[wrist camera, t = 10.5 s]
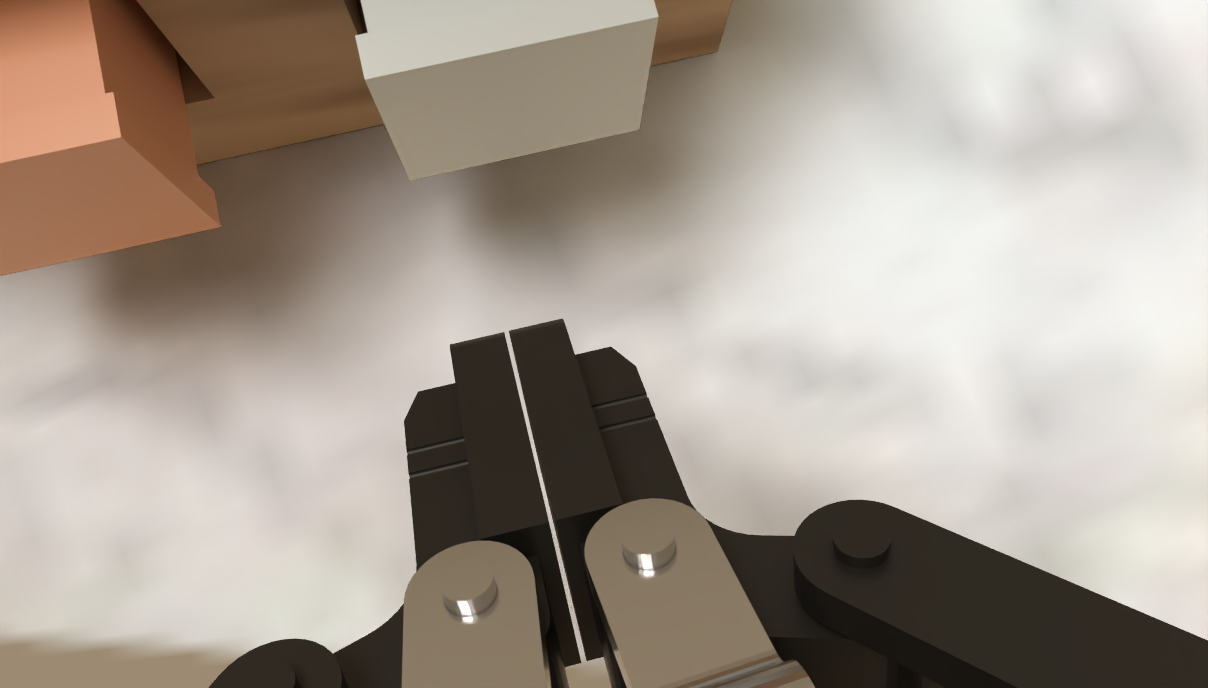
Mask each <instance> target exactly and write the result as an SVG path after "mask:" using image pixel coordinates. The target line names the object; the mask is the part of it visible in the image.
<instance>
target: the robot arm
mask: <svg viewBox="0 0 1208 688" xmlns="http://www.w3.org/2000/svg"><path fill="white" fill-rule="evenodd" d="M509 333H510V338H511V342H512V347H513V351H514V356H515V360H516V364H517V369H518V373H519V378H520V382H521V386H522V391H523V395H524V400H525V404H526V408H527V413H528V417H529V422H530V426H531V430H532V435H533V439H534V443H535V448H536V452H537V456H538V460H539V465H540V469H541V473H542V477H543V481H544V485H545V490H546V494H547V498H548V502H549V506H550V510H551V514H552V519H553V523H554V527H555V531H556V535H557V539H558V544H559V548H560V552H561V556H562V560H563V564H564V568H565V573H566V577H567V581H568V585H569V589H570V593H571V598H572V602H573V606H574V610H575V614H576V618H577V622H578V627H579V631H580V635H581V639H582V643H583V647H584V652H585V656H586V660H587V661H589V660H593V659H596V658H600V657H604V659H605V663H606V667H607V671H608V675H609V679H610V683H611V686H612V688H1208V640H1205V639H1203V638H1201V637H1198V636H1196V635H1193V634H1191V633H1189V632H1186V631H1184V630H1182V629H1179V628H1177V627H1175V626H1172V625H1170V624H1168V623H1165V622H1163V621H1161V620H1158V619H1156V618H1154V617H1151V616H1149V615H1146V614H1144V613H1142V612H1139V611H1137V610H1135V609H1132V608H1130V607H1128V606H1125V605H1123V604H1121V603H1118V602H1116V601H1114V600H1111V599H1109V598H1107V597H1104V596H1102V595H1099V594H1097V593H1095V592H1092V591H1090V590H1088V589H1085V588H1083V587H1081V586H1078V585H1076V584H1074V583H1071V582H1069V581H1067V580H1064V579H1062V578H1060V577H1057V576H1055V575H1052V574H1050V573H1048V572H1045V571H1043V570H1041V569H1038V568H1036V567H1034V566H1031V565H1029V564H1027V563H1024V562H1022V561H1020V560H1017V559H1015V558H1013V557H1010V556H1008V555H1005V554H1003V553H1001V552H998V551H996V550H994V549H991V548H989V547H987V546H984V545H982V544H980V543H977V542H975V541H973V540H970V539H968V538H966V537H963V536H961V535H959V534H956V533H954V532H951V531H949V530H947V529H944V528H942V527H940V526H937V525H935V524H933V523H930V522H928V521H926V520H923V519H921V518H919V517H916V516H914V515H912V514H909V513H907V512H904V511H902V510H900V509H897V508H895V507H892V506H890V505H887V504H884V503H880V502H875V501H868V500H847V501H840V502H836V503H832V504H829V505H826V506H824V507H822V508H820V509H818V510H816V511H815V512H813V513H812V514H810V515H809V516H808V517H807V518H806V519H805V520H804V521H803V522H802V523H801V525H800V526H799V528H798V529H797V531H796V534H795V536H760V535H747V534H742V533H736V532H733V531H730V530H726V529H724V528H721V527H719V526H717V525H715V524H713V523H712V522H710V521H708V520H707V519H705V518H704V517H703V516H702V515H701V514H700V513H699V512H697V510H696V509H695V508H694V507H693V505H692V504H691V502H690V500H689V498H688V496H687V494H686V491H685V489H684V486H683V484H682V481H681V479H680V476H679V474H678V471H677V469H676V466H675V464H674V461H673V459H672V456H671V454H670V451H669V449H668V446H667V444H666V441H665V438H664V436H663V433H662V431H661V428H660V426H659V423H658V421H657V420H656V418H655V413H654V411H653V408H652V406H651V403H650V401H649V398H647V394H646V391H645V388H644V386H643V383H642V381H641V378H640V376H639V373H638V371H637V368H636V366H635V365H634V364H632V363H631V362H630V361H628V360H627V359H626V358H625V357H623V356H622V355H621V354H620V353H618V352H617V351H616V350H615V349H613V348H612V347H607V348H603V349H599V350H594V351H590V352H586V353H581V354H577V355H575V354H574V351H573V348H572V344H571V341H570V338H569V335H568V332H567V329H566V326H565V323H564V320H563V319H558V320H554V321H550V322H545V323H541V324H537V325H532V326H528V327H524V328H519V329H515V330H511V331H509ZM450 351H451V357H452V364H453V370H454V376H455V383H454V384H449V385H445V386H441V387H436V388H432V389H428V390H424V391H419V392H418V393H417V395H416V397H415V399H414V401H413V403H412V405H411V408H410V410H409V412H408V414H407V416H406V418H405V420H404V426H405V437H406V449H407V453H408V455H407V460H408V471H409V476H410V479H409V483H410V494H411V506H412V517H413V528H414V540H415V551H416V563H417V571H416V573H415V574H414V576H413V577H412V579H411V581H410V583H409V584H408V587H407V590H406V593H405V598H404V604H403V605H402V606H401V607H400V609H399V610H398V611H397V612H396V613H395V614H394V615H393V616H392V617H391V618H390V619H389V620H388V621H387V622H386V623H384V624H383V625H382V626H380V627H379V628H378V629H376V630H375V631H373V632H371V633H370V634H368V635H366V636H365V637H363V638H361V639H359V640H357V641H355V642H354V643H352V644H350V645H348V646H346V647H344V648H343V649H341V650H339V651H337V652H335V653H333V654H332V653H331V652H330V651H329V650H328V649H327V648H325V647H324V646H322V645H320V644H318V643H316V642H313V641H309V640H305V639H284V640H279V641H274V642H270V643H267V644H265V645H262V646H259V647H257V648H255V649H253V650H251V651H249V652H247V653H246V654H244V655H243V656H241V657H239V658H238V659H237V660H235V661H234V662H233V663H232V664H230V665H229V666H228V667H227V668H226V669H225V670H224V671H223V672H222V673H221V674H220V675H219V676H218V677H217V679H216V680H215V681H214V682H213V683H212V685H210V687H209V688H569V685H568V680H567V676H566V671H565V667H567V666H571V665H575V664H579V663H581V660H580V655H579V651H578V647H577V642H576V638H575V634H574V629H573V625H572V621H571V616H570V612H569V608H568V603H567V599H566V594H565V590H564V586H563V581H562V577H561V573H560V568H559V564H558V560H557V555H556V551H555V547H554V542H553V538H552V534H551V529H550V525H549V521H548V516H547V512H546V508H545V504H544V499H543V495H542V491H541V487H540V482H539V478H538V474H537V470H536V465H535V461H534V457H533V453H532V448H531V444H530V440H529V436H528V432H527V427H526V423H525V419H524V415H523V410H522V406H521V402H520V398H519V393H518V389H517V385H516V381H515V376H514V372H513V368H512V364H511V359H510V355H509V351H508V347H507V342H506V338H505V334H504V332H503V333H498V334H494V335H490V336H485V337H481V338H477V339H472V340H468V341H464V342H459V343H455V344H450Z"/></svg>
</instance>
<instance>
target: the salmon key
mask: <svg viewBox="0 0 1208 688" xmlns="http://www.w3.org/2000/svg"><path fill="white" fill-rule="evenodd" d="M219 227H221V224H220V218H219V213H218V208H217V203H216V197H215V192H214V190H213V189H212V188H211V187H210V186H209V185H208V184H207V183H206V182H205V181H204V180H203V179H201V178H200V177H199V174H198V169H197V164H196V158H195V153H194V148H193V142H192V137H191V132H190V126H189V121H188V116H187V110H186V105H185V100H184V94H183V89H182V84H181V78H180V73H179V68H178V62H177V57H176V52H175V48H174V47H173V45H172V44H171V43H170V42H169V40H168V39H167V38H166V37H165V35H164V34H163V33H162V32H161V30H160V29H159V28H158V27H157V25H156V24H155V23H154V22H153V20H152V19H151V18H150V17H149V15H148V14H147V13H146V12H145V10H144V9H143V8H142V7H141V5H140V4H139V3H138V2H137V0H0V276H3V275H7V274H12V273H16V272H21V271H25V270H30V269H34V268H39V267H43V266H48V265H52V264H57V263H61V262H66V261H70V260H75V259H79V258H84V257H88V256H93V255H97V254H102V253H106V252H111V251H115V250H120V249H124V248H129V247H133V246H138V245H142V244H147V243H151V242H156V241H160V240H165V239H169V238H174V237H178V236H183V235H187V234H192V233H196V232H201V231H205V230H210V229H214V228H219Z"/></svg>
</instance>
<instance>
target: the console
mask: <svg viewBox="0 0 1208 688" xmlns="http://www.w3.org/2000/svg"><path fill="white" fill-rule="evenodd" d="M732 1H733V0H654V2H655V6H656V9H657V13H658V16H659V17H658V23H657V29H656V35H655V41H654V47H653V53H652V59H651V64H650V66H653V65H658V64H663V63H667V62H672V61H676V60H681V59H686V58H690V57H695V56H699V55H704V54H709V53H713V52H717V51H718V47H719V44H720V41H721V37H722V34H723V31H724V27H725V24H726V21H727V17H728V14H729V11H730V8H731V4H732ZM137 2H138V3H139V4H140V5H141V7H142V8H143V9H144V10H145V12H146V13H147V14H148V15H149V17H150V18H151V19H152V20H153V22H154V23H155V24H156V25H157V27H158V28H159V29H160V30H161V32H162V33H163V34H164V35H165V37H166V38H167V39H168V40H169V42H170V43H171V44H172V45H173V47H174V48H175V52H176V57H177V62H178V68H179V73H180V78H181V84H182V89H183V94H184V100H185V105H186V110H187V116H188V121H189V126H190V132H191V137H192V142H193V148H194V153H195V158H196V164H197V165H198V164H203V163H207V162H212V161H217V160H221V159H226V158H230V157H235V156H240V155H244V154H249V153H253V152H258V151H263V150H267V149H272V148H276V147H281V146H286V145H290V144H295V143H299V142H304V141H309V140H313V139H318V138H322V137H327V136H332V135H336V134H341V133H345V132H350V131H355V130H359V129H364V128H368V127H373V126H378V125H382V124H384V122H383V120H382V117H381V115H380V113H379V111H378V108H377V106H376V104H375V102H374V99H373V97H372V95H371V93H370V90H369V88H368V86H367V84H366V81H365V79H364V74H363V70H362V65H361V61H360V56H359V51H358V47H357V42H356V38H355V35H360V34H365V33H368V31H367V27H366V22H365V18H364V13H363V9H362V4H361V0H137Z"/></svg>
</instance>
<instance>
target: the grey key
mask: <svg viewBox="0 0 1208 688" xmlns="http://www.w3.org/2000/svg"><path fill="white" fill-rule="evenodd" d="M361 4H362V9H363V13H364V18H365V22H366V27H367V31H368V33H365V34H360V35H355V38H356V42H357V47H358V51H359V56H360V61H361V65H362V70H363V74H364V79H365V81H366V84H367V86H368V88H369V90H370V93H371V95H372V97H373V99H374V102H375V104H376V106H377V108H378V111H379V113H380V115H381V117H382V120H383V122H384V124H385V126H386V129H387V131H388V133H389V135H390V138H391V140H392V142H393V144H394V147H395V149H396V151H397V153H398V156H399V158H400V160H401V162H402V165H403V167H404V169H405V171H406V174H407V176H408V178H409V180H410V181H411V180H415V179H420V178H424V177H429V176H433V175H438V174H443V173H447V172H452V171H456V170H461V169H465V168H470V167H474V166H479V165H483V164H488V163H492V162H497V161H501V160H506V159H510V158H515V157H519V156H524V155H528V154H533V153H537V152H542V151H546V150H551V149H555V148H560V147H564V146H569V145H573V144H578V143H582V142H587V141H591V140H596V139H600V138H605V137H609V136H614V135H618V134H623V133H627V132H632V131H636V130H639V129H640V123H641V118H642V112H643V106H644V100H645V94H646V88H647V82H648V76H649V70H650V64H651V59H652V53H653V47H654V41H655V35H656V29H657V23H658V17H659V16H658V13H657V9H656V6H655V2H654V0H361Z"/></svg>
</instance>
